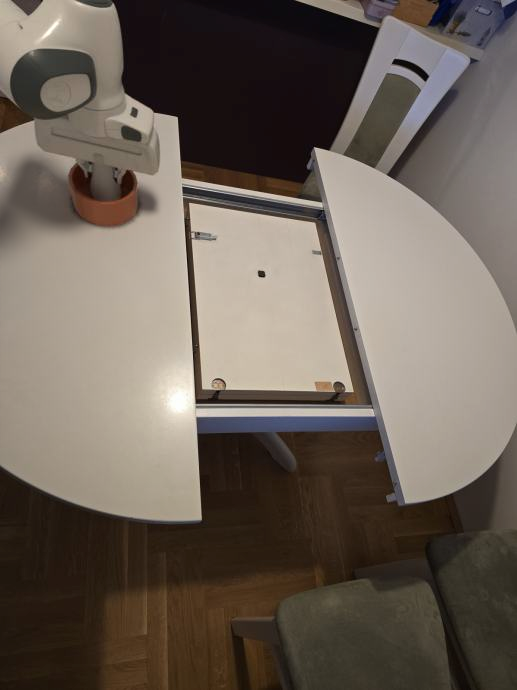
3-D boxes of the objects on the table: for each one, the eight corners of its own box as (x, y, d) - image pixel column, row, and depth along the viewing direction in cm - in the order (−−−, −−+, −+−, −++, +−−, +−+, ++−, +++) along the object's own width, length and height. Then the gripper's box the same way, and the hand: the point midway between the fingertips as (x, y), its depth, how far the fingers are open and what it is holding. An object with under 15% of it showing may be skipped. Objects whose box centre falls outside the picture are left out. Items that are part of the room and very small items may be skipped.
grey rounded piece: (116, 215, 78) (110, 160, 66) (87, 206, 77) (76, 149, 66) (126, 195, 80) (122, 139, 69) (98, 187, 80) (89, 128, 68)
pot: (66, 219, 75) (61, 195, 70) (81, 175, 81) (76, 150, 75) (132, 231, 78) (131, 209, 73) (141, 188, 83) (141, 165, 78)
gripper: (18, 104, 58) (40, 178, 70) (158, 138, 63) (156, 202, 75) (30, 79, 61) (49, 154, 73) (163, 113, 65) (160, 179, 77)
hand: (104, 178), depth 74 cm, fingers closed on grey rounded piece, 3 cm apart
